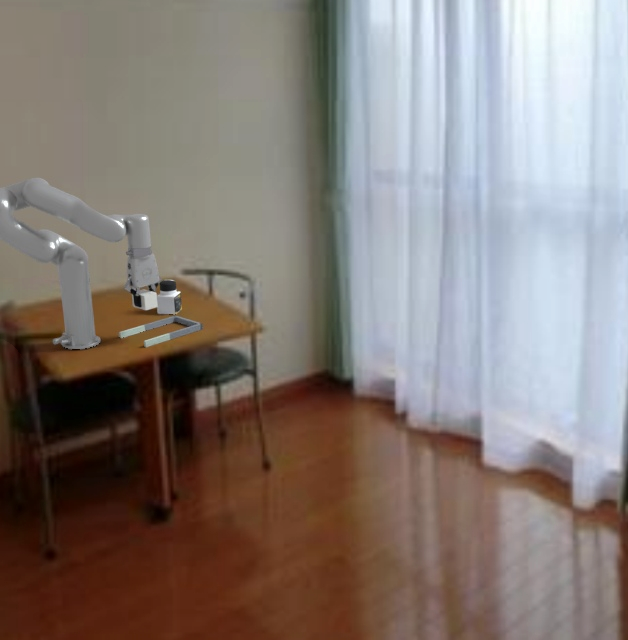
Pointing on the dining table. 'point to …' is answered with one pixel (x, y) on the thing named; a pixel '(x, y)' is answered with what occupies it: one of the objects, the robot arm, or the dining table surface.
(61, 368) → the dining table surface
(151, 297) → the white block
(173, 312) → the medicine bottle
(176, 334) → the bay
